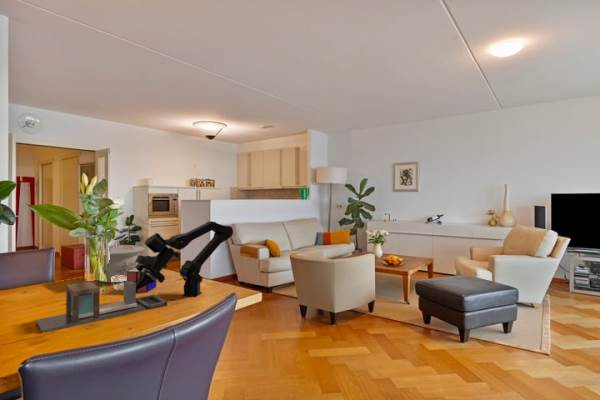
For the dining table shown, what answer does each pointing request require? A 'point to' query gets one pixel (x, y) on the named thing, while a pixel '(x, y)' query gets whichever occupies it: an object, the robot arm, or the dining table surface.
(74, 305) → the tunnel
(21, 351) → the dining table surface
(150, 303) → the tray
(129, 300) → the sled
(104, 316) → the grey long flat panel
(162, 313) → the dining table surface
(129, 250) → the grey plant pot
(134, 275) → the puzzle cube
